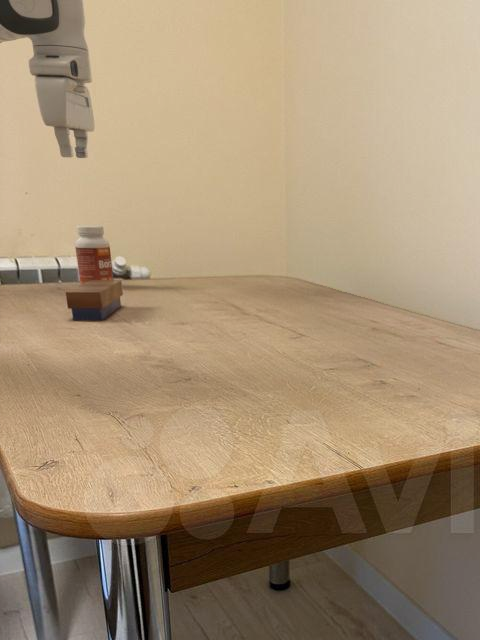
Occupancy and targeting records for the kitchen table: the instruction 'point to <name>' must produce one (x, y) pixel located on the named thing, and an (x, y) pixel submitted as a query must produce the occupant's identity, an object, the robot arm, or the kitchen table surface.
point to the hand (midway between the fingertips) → (74, 157)
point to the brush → (94, 299)
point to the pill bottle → (93, 254)
